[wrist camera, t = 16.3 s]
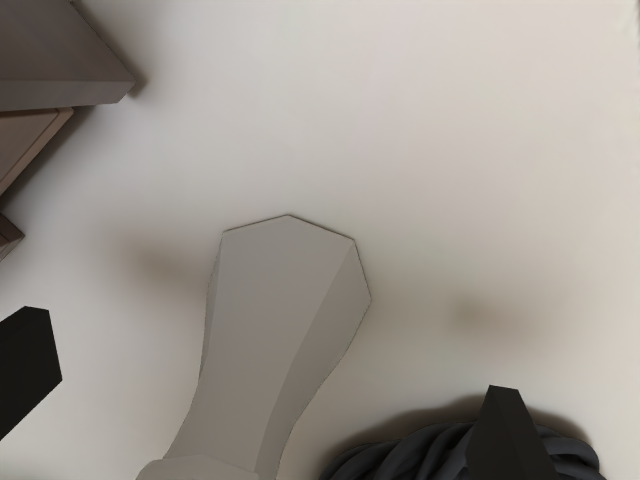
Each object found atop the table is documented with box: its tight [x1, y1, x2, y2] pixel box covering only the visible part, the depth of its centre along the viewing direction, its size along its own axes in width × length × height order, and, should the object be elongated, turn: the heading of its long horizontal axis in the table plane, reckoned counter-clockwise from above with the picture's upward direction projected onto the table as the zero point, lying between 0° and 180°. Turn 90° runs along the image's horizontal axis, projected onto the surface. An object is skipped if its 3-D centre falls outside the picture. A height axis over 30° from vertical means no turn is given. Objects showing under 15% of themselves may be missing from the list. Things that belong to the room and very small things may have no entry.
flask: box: [136, 215, 371, 480], centre depth 12 cm, size 7×7×10 cm
